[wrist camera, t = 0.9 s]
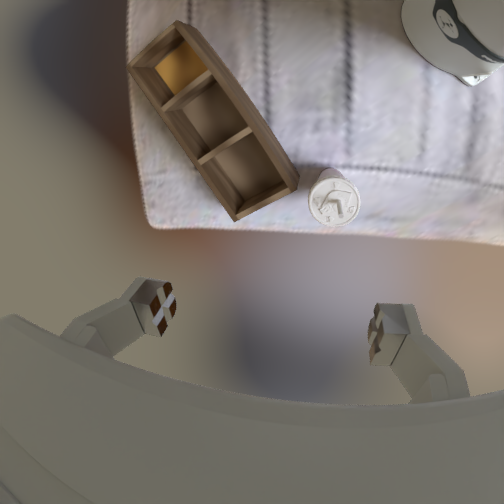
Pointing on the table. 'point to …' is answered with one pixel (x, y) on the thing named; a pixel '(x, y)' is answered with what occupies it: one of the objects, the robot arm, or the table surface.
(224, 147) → the caddy
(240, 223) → the table surface
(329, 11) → the table surface
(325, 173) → the smoothie
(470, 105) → the table surface
